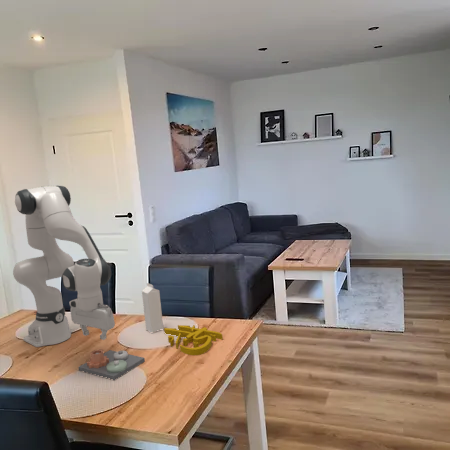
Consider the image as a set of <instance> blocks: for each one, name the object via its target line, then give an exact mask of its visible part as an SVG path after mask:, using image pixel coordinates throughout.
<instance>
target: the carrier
mask: <svg viewBox="0 0 450 450" xmlns="http://www.w3.org/2000/svg"><path fill="white" fill-rule="evenodd" d="M96 354H99V353H96ZM104 356H107V358H109V363H107V365H106V366H102V367H99V368H89V366H87V361H86V362H85V363H83V364H81V365H79V366H77V368H78V371H79V372H82V371H84V372H83V373H86V372H88V373H87V374H90V373H92V374H91V375H93V374H96V375H95V376H97V375H99V376H98V377H100V376H103V377H102V378H104V377H107V378H106V379H108V378H110V379H109V380H111V379H113V380H112V381H115V379H116V380H117V379H119V378H120V377H122V376H124V375H125V374H127V373H128V372H127V371H129V370H130V371H132V370H134V369H135V368H137V367H138V366H140V365H142V364H143V363H145V362H146V361H145V360H146V359H145V357H142V356H138V355H134V354H129V353H128V351H126V350H118V351H117V350H111V349H109V350H107V351H105V352H104ZM131 369H132V370H131ZM130 371H129V372H130ZM126 372H127V373H126ZM124 373H125V374H124ZM123 374H124V375H123ZM121 375H122V376H121ZM118 377H119V378H118Z"/></svg>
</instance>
